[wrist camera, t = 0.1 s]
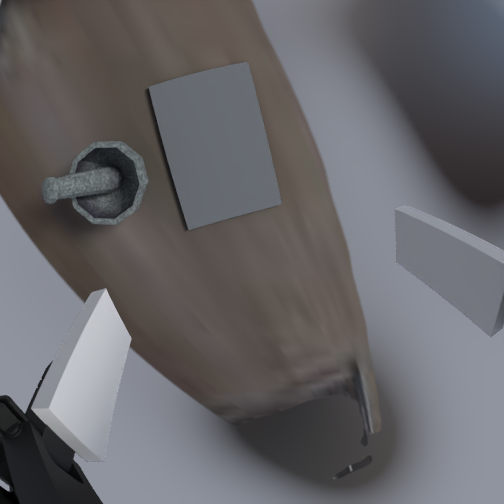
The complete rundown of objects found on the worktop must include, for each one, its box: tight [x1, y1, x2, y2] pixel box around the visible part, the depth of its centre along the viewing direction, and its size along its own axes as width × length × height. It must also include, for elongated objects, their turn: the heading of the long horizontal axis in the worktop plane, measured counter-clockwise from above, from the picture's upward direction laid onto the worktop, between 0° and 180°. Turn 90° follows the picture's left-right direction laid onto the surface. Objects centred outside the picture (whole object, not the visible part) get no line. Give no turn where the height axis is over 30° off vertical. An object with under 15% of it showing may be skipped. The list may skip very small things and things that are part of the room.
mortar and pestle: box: [42, 141, 148, 225], centre depth 29 cm, size 11×9×12 cm
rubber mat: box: [149, 62, 282, 230], centre depth 35 cm, size 20×13×1 cm, turn 13°
